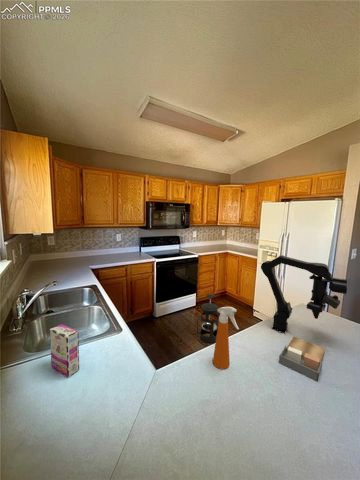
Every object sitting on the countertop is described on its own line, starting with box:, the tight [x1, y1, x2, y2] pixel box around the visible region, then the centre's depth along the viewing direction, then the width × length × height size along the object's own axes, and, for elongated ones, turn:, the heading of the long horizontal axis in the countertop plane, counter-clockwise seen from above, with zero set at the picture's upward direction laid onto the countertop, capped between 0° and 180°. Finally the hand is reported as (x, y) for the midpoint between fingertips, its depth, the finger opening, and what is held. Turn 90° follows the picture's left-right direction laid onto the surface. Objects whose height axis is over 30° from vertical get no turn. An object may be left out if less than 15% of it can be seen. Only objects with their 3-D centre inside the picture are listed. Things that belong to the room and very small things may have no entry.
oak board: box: [286, 336, 326, 365], centre depth 92 cm, size 13×13×2 cm
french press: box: [196, 293, 220, 345], centre depth 100 cm, size 12×9×23 cm
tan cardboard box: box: [303, 353, 320, 372], centre depth 82 cm, size 5×5×3 cm
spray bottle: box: [212, 306, 240, 370], centre depth 82 cm, size 7×11×26 cm, turn 39°
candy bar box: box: [49, 323, 80, 379], centre depth 78 cm, size 11×5×16 cm, turn 62°
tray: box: [278, 345, 323, 382], centre depth 84 cm, size 14×9×4 cm, turn 48°
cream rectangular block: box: [287, 347, 302, 364], centre depth 86 cm, size 5×5×3 cm
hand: (316, 318), depth 101 cm, fingers closed
